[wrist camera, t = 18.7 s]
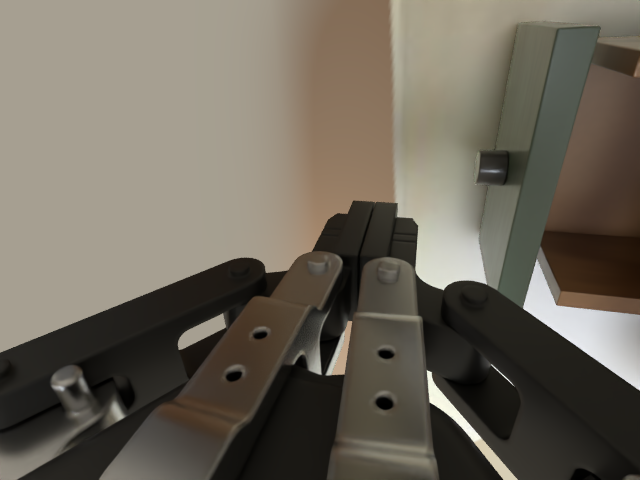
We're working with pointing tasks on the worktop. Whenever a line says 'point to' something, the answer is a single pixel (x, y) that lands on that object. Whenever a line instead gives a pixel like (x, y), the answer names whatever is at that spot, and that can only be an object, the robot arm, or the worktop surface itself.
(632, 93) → the drawer
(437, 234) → the worktop surface
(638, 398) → the robot arm
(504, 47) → the worktop surface
